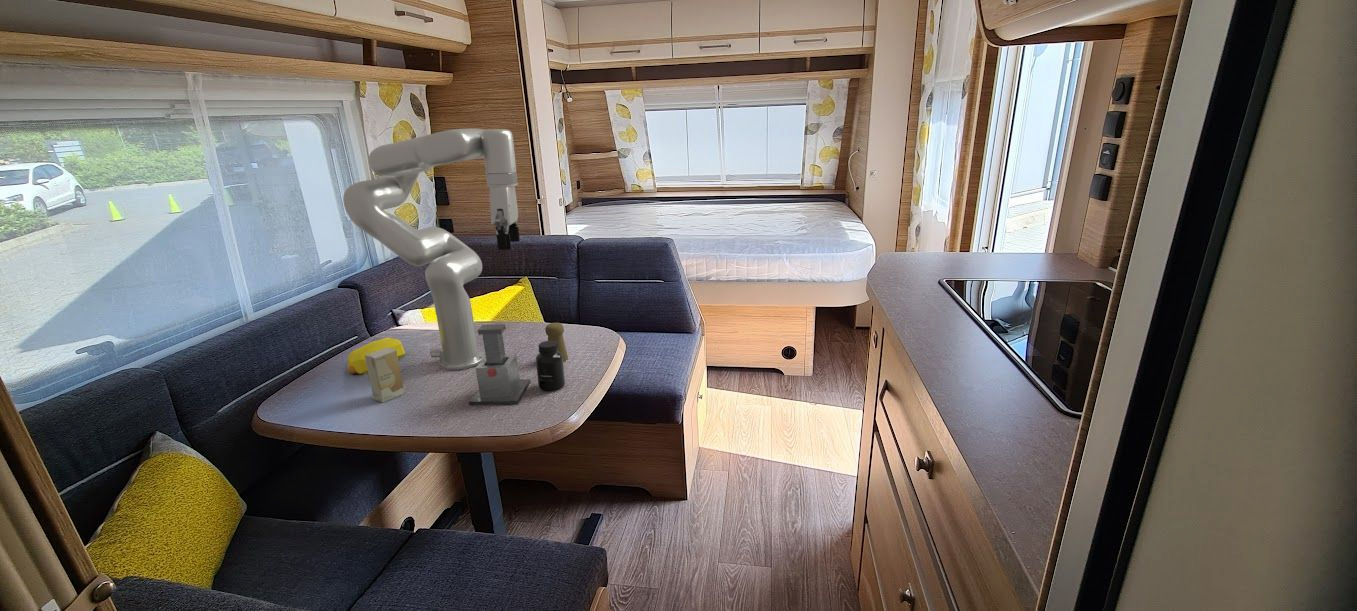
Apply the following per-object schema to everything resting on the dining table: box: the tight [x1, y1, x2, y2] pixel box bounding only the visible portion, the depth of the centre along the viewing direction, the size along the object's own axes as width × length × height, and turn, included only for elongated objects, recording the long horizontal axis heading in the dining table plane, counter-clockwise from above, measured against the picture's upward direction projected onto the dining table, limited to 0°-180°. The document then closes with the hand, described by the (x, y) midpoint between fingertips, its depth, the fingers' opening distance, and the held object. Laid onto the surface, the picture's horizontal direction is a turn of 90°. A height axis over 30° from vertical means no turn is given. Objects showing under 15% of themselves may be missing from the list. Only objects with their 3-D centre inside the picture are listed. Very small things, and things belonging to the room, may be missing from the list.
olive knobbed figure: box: [544, 322, 569, 363], centre depth 164 cm, size 6×6×11 cm
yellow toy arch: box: [347, 336, 406, 375], centre depth 166 cm, size 18×7×8 cm
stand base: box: [468, 354, 531, 406], centre depth 145 cm, size 12×12×9 cm
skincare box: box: [365, 348, 405, 403], centre depth 145 cm, size 6×4×12 cm
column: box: [477, 323, 507, 366], centre depth 143 cm, size 6×4×17 cm, turn 89°
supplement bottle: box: [535, 340, 566, 393], centre depth 147 cm, size 7×7×12 cm
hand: (509, 245), depth 151 cm, fingers open, 9 cm apart
